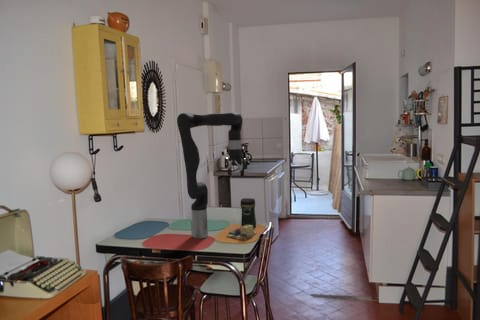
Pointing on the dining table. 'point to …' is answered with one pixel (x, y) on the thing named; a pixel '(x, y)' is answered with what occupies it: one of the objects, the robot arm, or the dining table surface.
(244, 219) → the coffee jar
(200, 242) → the dining table surface
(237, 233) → the hinge board
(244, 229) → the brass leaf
